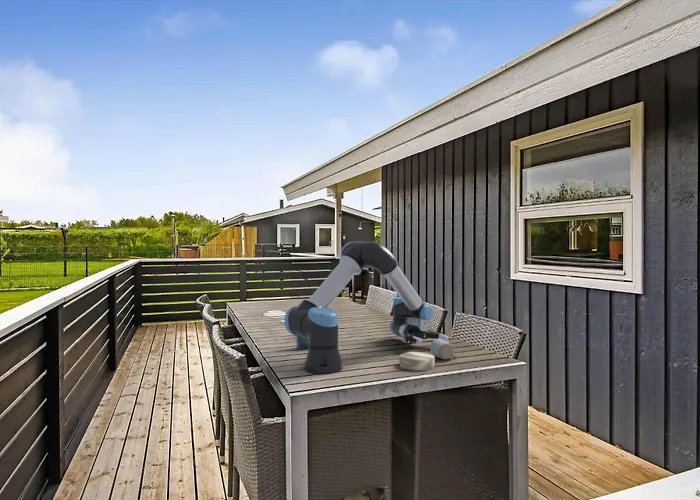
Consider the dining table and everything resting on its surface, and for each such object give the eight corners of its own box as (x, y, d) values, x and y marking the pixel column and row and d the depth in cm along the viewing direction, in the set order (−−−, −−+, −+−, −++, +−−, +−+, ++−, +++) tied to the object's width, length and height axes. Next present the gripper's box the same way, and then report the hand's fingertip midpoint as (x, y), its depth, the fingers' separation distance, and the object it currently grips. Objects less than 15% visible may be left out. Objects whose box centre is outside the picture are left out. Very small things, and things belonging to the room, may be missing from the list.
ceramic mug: (439, 361, 195) (439, 342, 195) (429, 356, 203) (430, 338, 203) (461, 359, 199) (461, 341, 199) (451, 354, 207) (451, 337, 207)
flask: (295, 348, 218) (295, 325, 218) (297, 347, 221) (297, 324, 221) (315, 349, 217) (315, 326, 216) (316, 348, 220) (316, 325, 219)
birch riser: (421, 373, 179) (421, 362, 179) (392, 366, 189) (392, 356, 189) (441, 365, 190) (441, 355, 189) (412, 359, 199) (412, 350, 199)
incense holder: (430, 332, 256) (430, 312, 255) (420, 334, 250) (420, 314, 250) (416, 329, 263) (416, 310, 263) (406, 331, 258) (406, 312, 258)
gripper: (432, 337, 231) (458, 346, 212) (387, 342, 221) (409, 352, 202) (432, 322, 231) (458, 330, 211) (387, 326, 221) (409, 334, 202)
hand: (434, 341), depth 207 cm, fingers open, 13 cm apart
